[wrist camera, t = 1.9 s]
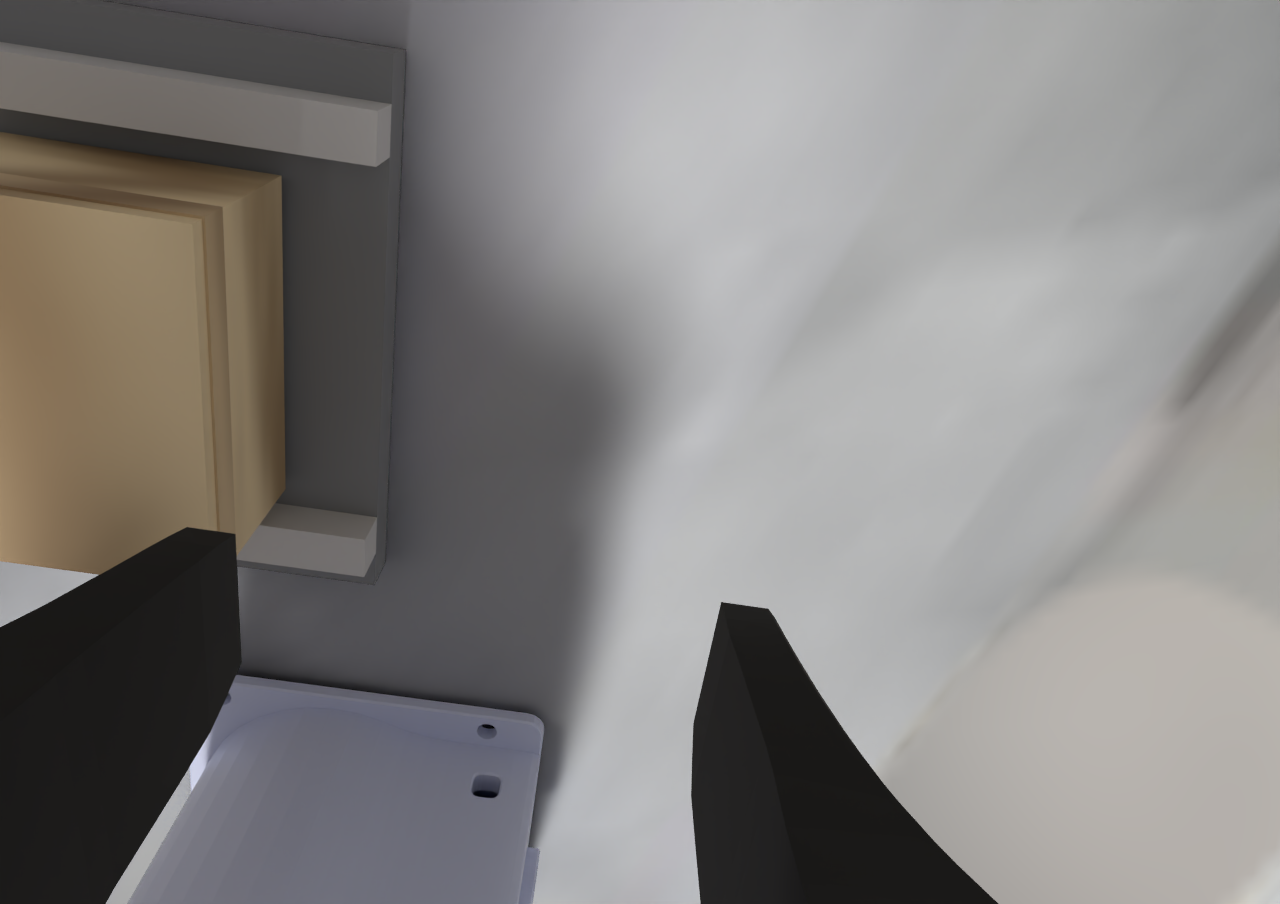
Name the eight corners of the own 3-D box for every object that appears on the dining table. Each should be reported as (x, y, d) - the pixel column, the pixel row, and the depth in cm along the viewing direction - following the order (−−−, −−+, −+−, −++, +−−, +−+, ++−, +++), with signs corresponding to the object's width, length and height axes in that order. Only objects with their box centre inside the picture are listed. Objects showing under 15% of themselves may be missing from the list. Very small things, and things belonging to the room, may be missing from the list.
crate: (283, 173, 19) (195, 221, 15) (287, 490, 22) (215, 592, 19) (-37, 123, 19) (-203, 160, 15) (12, 452, 22) (-115, 548, 18)
